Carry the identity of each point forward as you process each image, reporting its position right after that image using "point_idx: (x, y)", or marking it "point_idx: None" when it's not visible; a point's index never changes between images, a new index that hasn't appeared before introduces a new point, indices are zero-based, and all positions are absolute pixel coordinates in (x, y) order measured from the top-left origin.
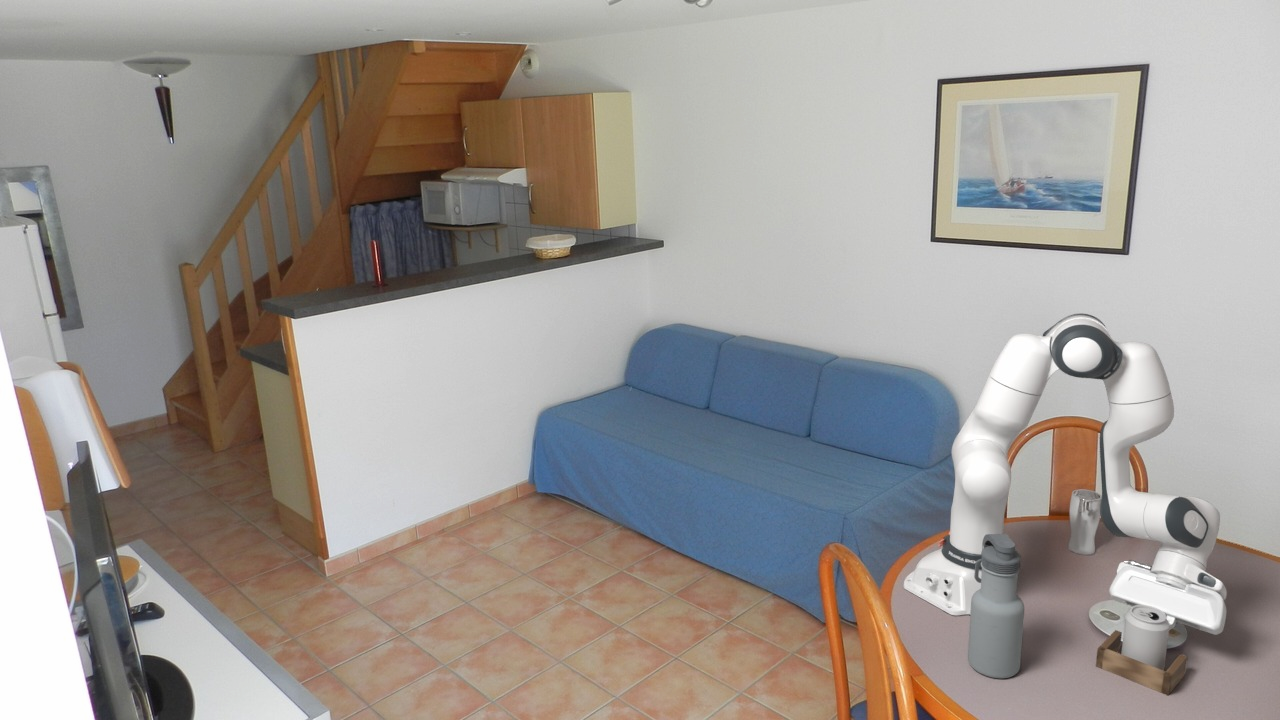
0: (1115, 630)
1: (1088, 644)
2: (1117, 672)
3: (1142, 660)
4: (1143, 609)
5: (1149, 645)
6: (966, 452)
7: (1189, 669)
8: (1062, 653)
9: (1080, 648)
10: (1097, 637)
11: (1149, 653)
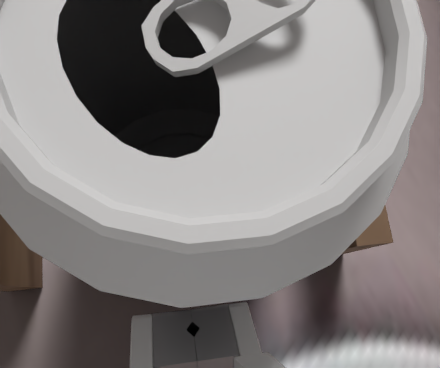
0: (389, 236)
1: (418, 187)
2: None
3: (147, 84)
4: (312, 136)
5: (107, 24)
6: None
7: (4, 360)
8: (432, 48)
9: (417, 132)
10: (432, 276)
11: (113, 68)
